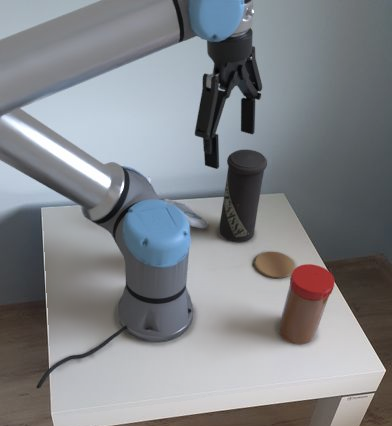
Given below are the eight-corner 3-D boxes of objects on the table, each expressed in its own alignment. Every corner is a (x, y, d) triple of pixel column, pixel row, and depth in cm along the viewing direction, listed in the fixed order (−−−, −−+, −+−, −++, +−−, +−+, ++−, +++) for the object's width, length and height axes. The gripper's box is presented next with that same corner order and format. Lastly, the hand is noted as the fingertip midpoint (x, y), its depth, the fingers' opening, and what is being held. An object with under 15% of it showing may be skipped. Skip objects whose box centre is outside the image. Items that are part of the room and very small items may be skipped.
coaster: (273, 283, 116) (273, 281, 116) (247, 261, 121) (247, 259, 120) (302, 270, 120) (302, 268, 120) (276, 249, 125) (276, 247, 124)
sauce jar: (296, 349, 104) (312, 299, 93) (270, 326, 107) (283, 275, 97) (323, 334, 107) (341, 284, 97) (297, 312, 111) (312, 261, 101)
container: (212, 226, 129) (220, 149, 114) (244, 219, 132) (256, 143, 117) (228, 246, 124) (239, 169, 109) (261, 239, 127) (276, 162, 112)
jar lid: (310, 306, 94) (313, 298, 93) (280, 280, 98) (282, 273, 97) (341, 290, 98) (343, 282, 96) (311, 266, 102) (313, 258, 100)
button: (211, 224, 128) (190, 220, 119) (207, 230, 129) (187, 226, 120) (183, 202, 131) (161, 196, 123) (179, 207, 132) (157, 202, 123)
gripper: (208, 64, 78) (213, 187, 94) (285, 5, 90) (277, 123, 107) (167, 55, 81) (178, 176, 97) (247, -2, 93) (245, 114, 110)
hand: (230, 148), depth 102 cm, fingers open, 13 cm apart
